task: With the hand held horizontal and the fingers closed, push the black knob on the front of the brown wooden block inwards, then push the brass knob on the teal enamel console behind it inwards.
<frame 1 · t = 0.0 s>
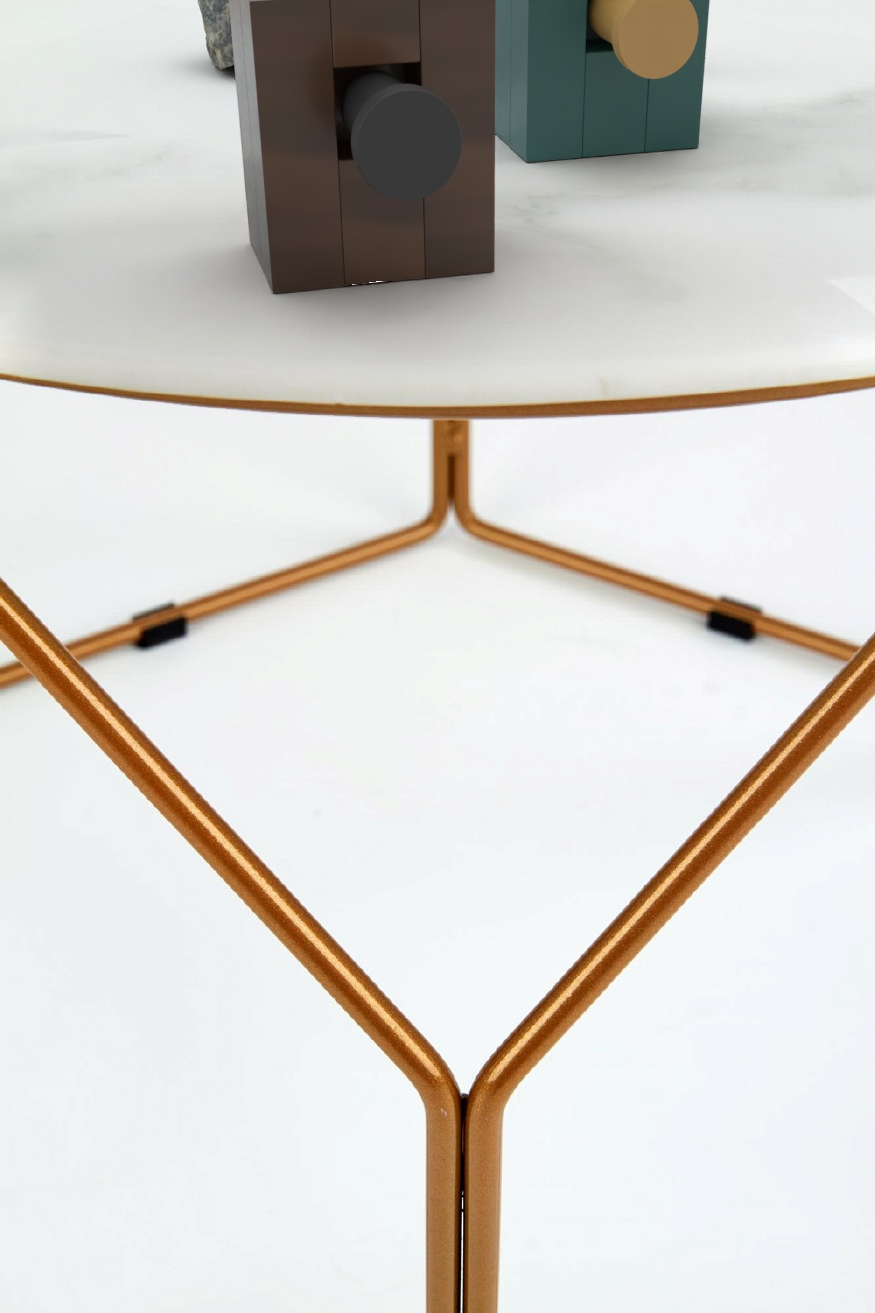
knob a: (391, 125, 66), point 8 cm above the table, slide at 0.0 cm
rock: (279, 70, 112), on the table
console b: (592, 138, 94), on the table
knob b: (635, 21, 84), point 8 cm above the table, slide at 0.0 cm
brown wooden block: (368, 256, 76), on the table
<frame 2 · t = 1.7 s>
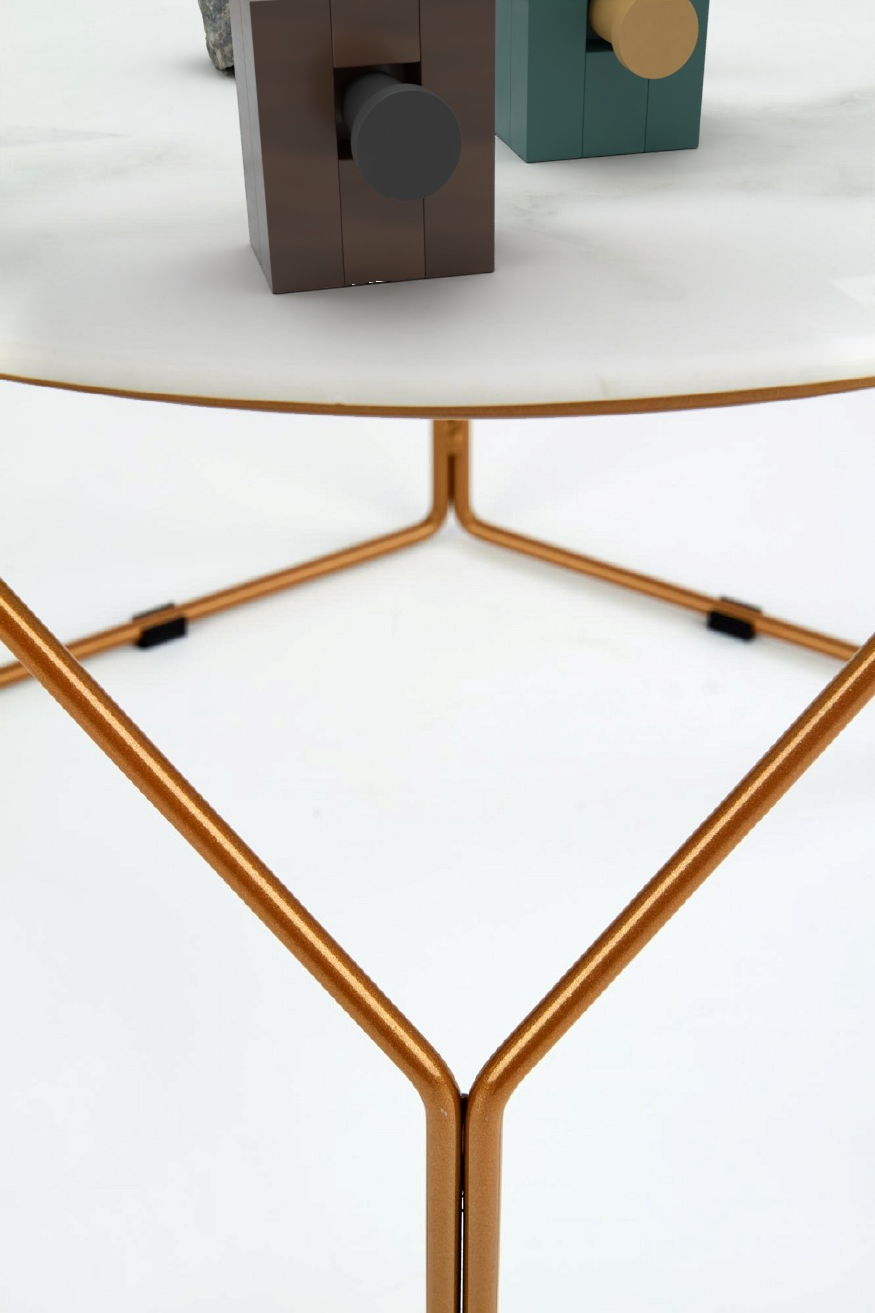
nothing on the table moved.
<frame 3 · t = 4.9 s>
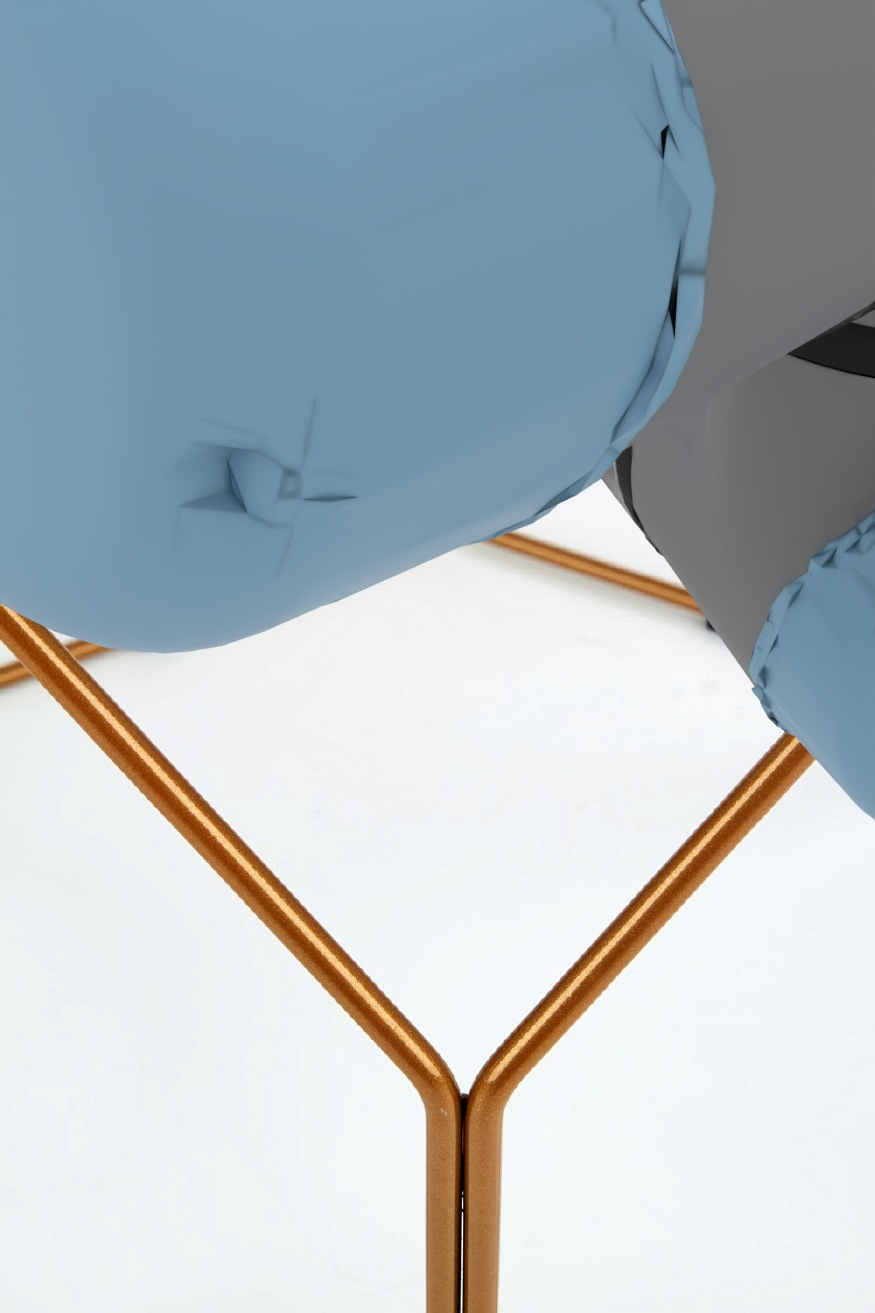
hand: (455, 115, 55), 11 cm above the table, tool horizontal, fingers closed
nothing on the table moved.
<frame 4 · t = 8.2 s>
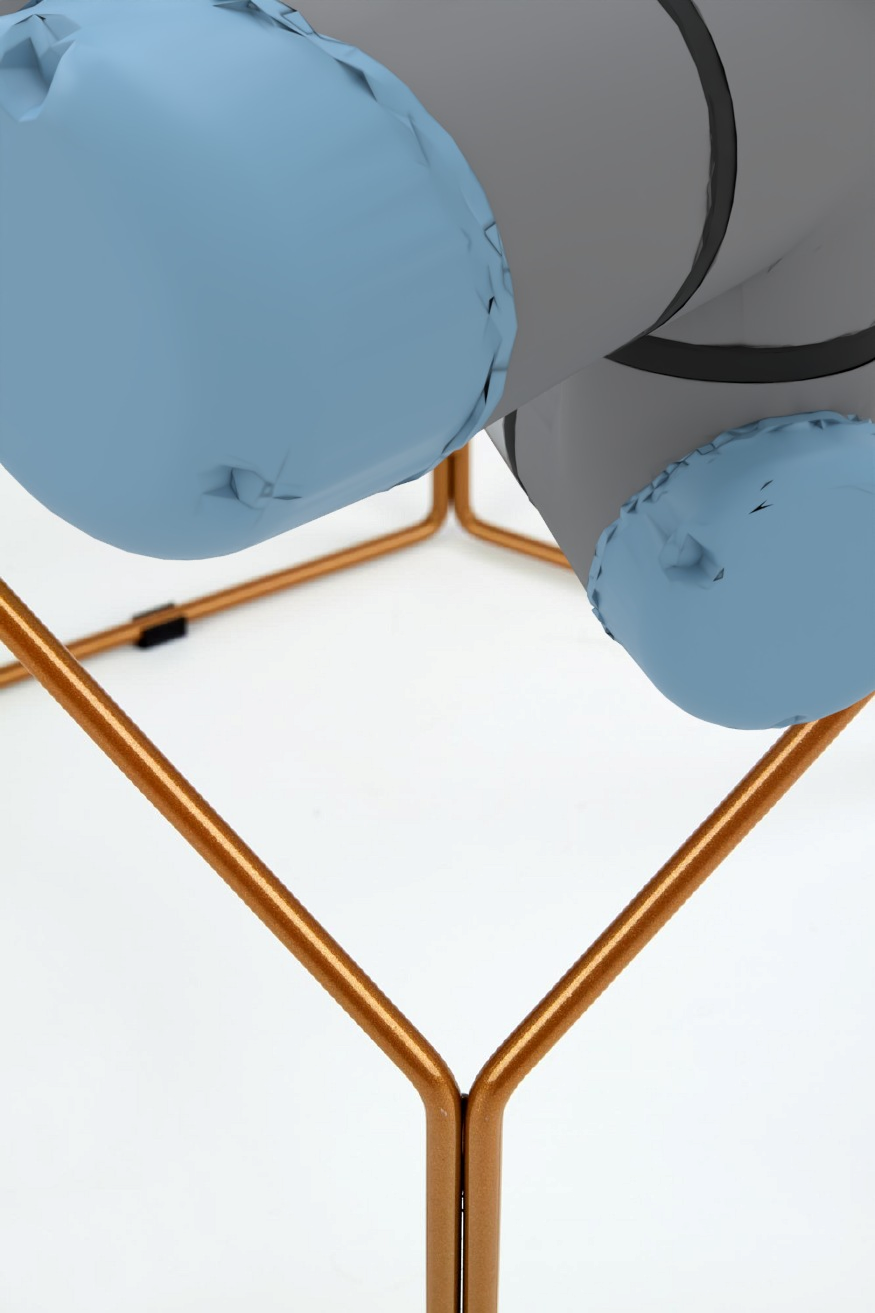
hand: (408, 147, 63), 8 cm above the table, tool horizontal, fingers closed
knob a: (388, 122, 67), point 8 cm above the table, slide at 0.6 cm, touching gripper
everything else where it was.
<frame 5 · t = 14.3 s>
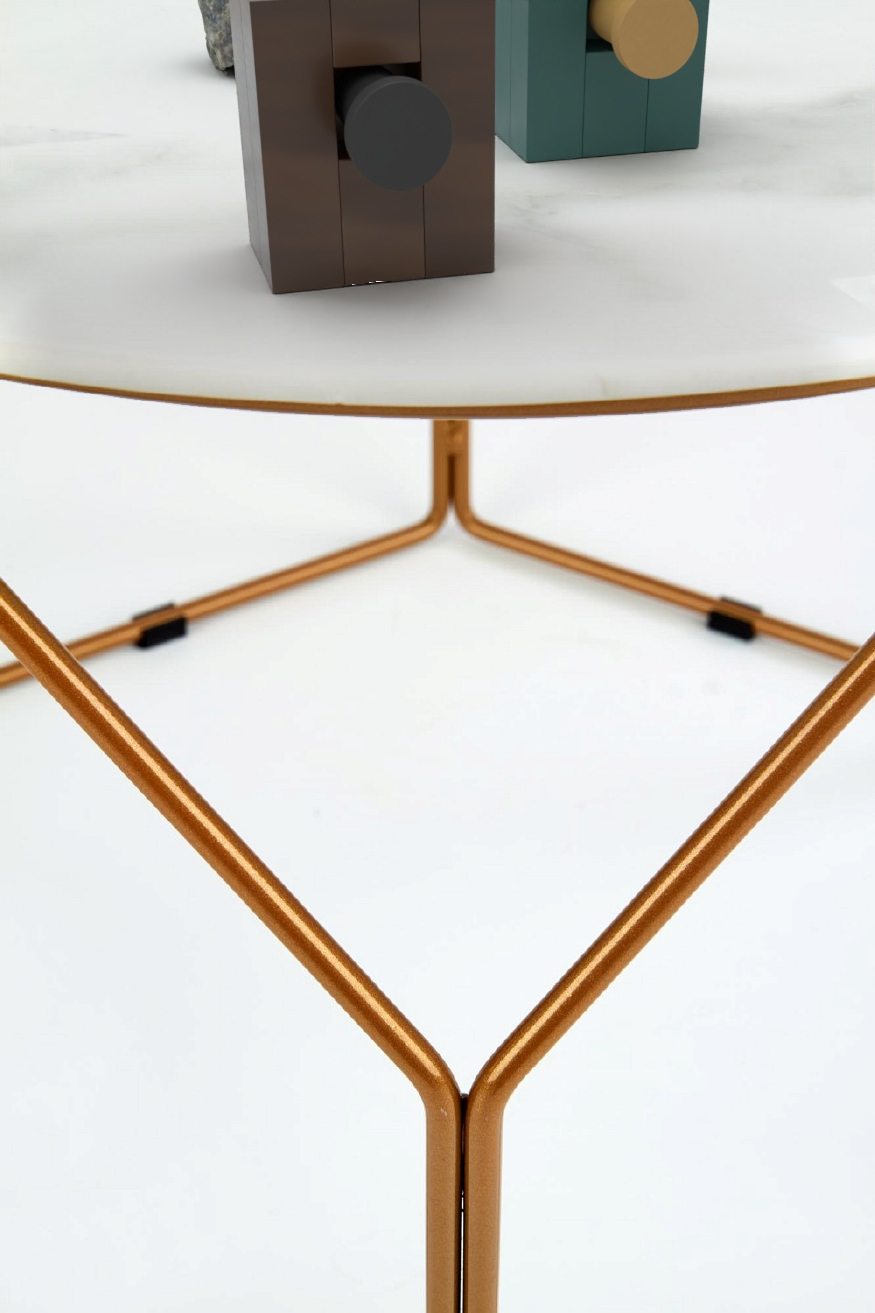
knob a: (384, 117, 67), point 8 cm above the table, slide at 1.5 cm
everything else where it was.
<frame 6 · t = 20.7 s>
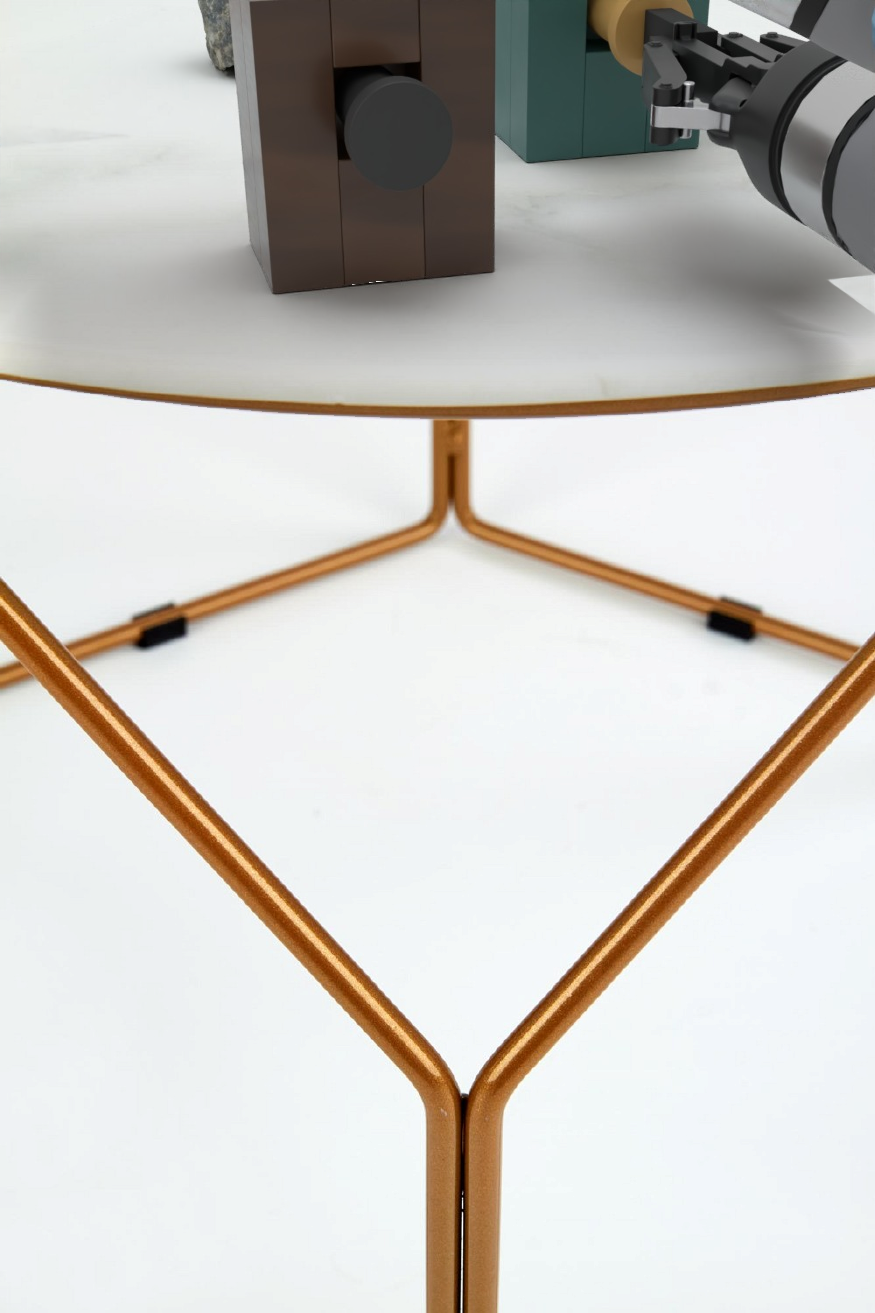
hand: (656, 35, 81), 8 cm above the table, tool horizontal, fingers closed
knob b: (632, 19, 85), point 8 cm above the table, slide at 0.6 cm, touching gripper
everything else where it was.
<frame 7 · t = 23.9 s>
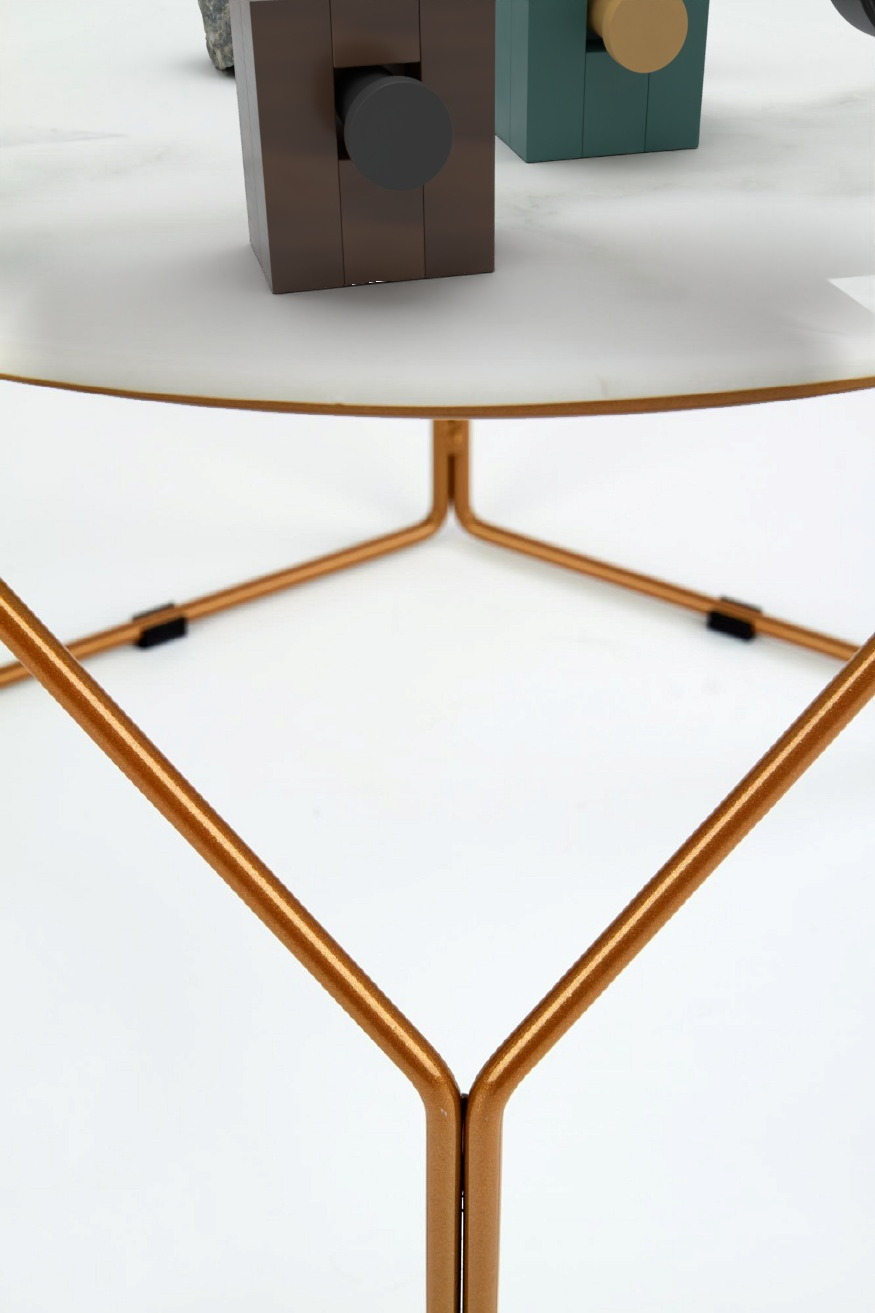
knob b: (626, 16, 85), point 8 cm above the table, slide at 1.5 cm
everything else where it was.
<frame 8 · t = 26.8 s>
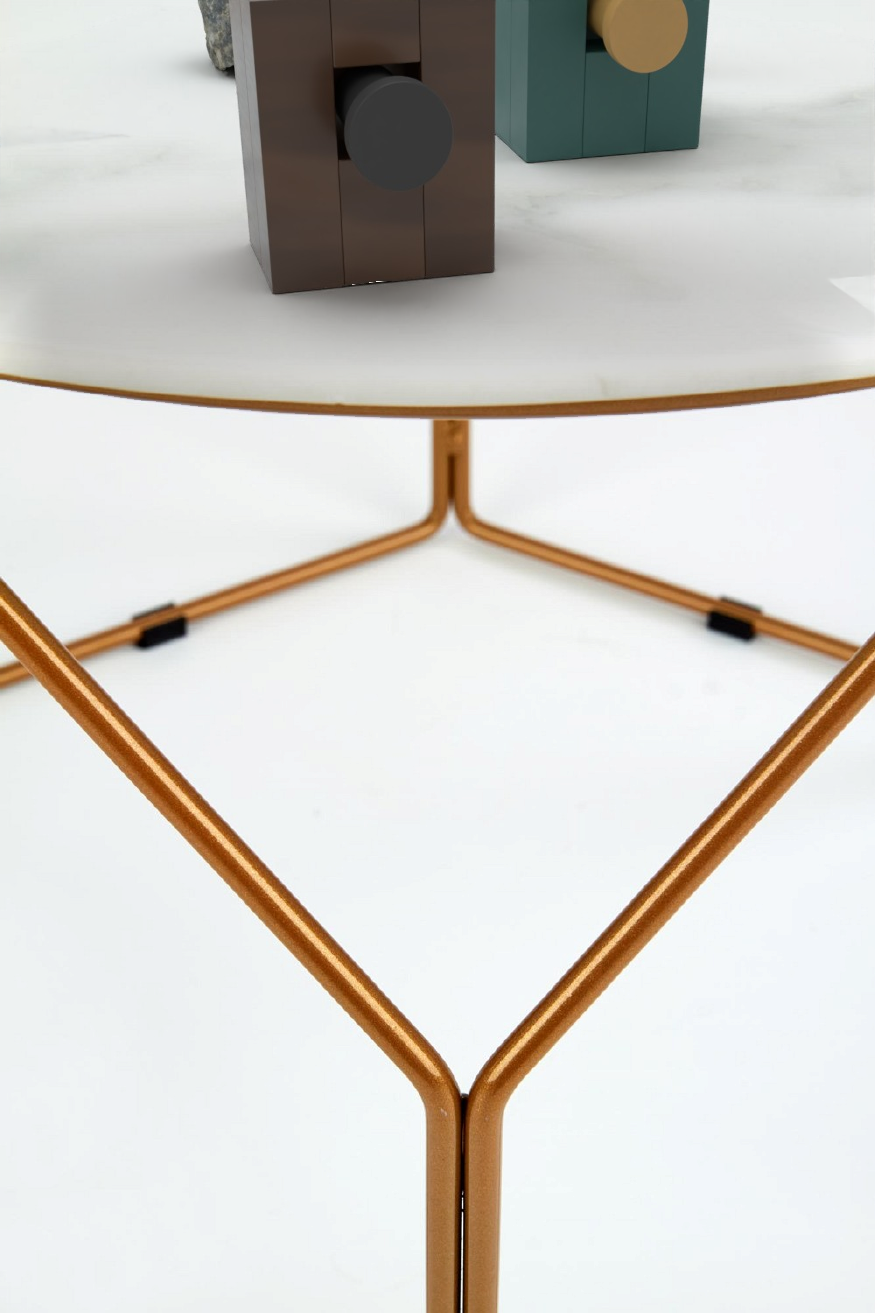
nothing on the table moved.
at the end: knob a slide at 1.5 cm; knob b slide at 1.5 cm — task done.
